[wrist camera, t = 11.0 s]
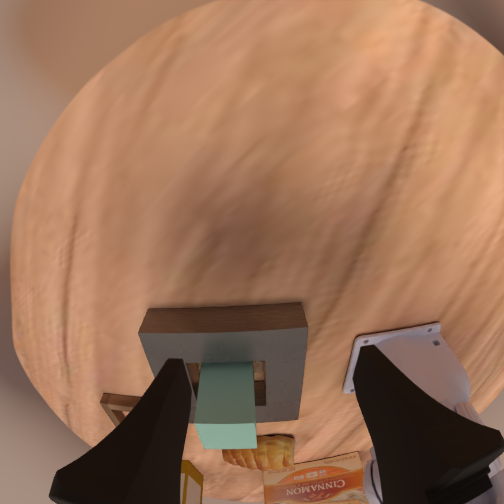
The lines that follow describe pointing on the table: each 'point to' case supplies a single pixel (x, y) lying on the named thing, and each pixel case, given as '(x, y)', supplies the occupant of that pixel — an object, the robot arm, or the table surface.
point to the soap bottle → (190, 484)
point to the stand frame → (117, 406)
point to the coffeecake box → (317, 482)
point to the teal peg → (226, 406)
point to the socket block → (235, 349)
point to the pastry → (264, 454)
